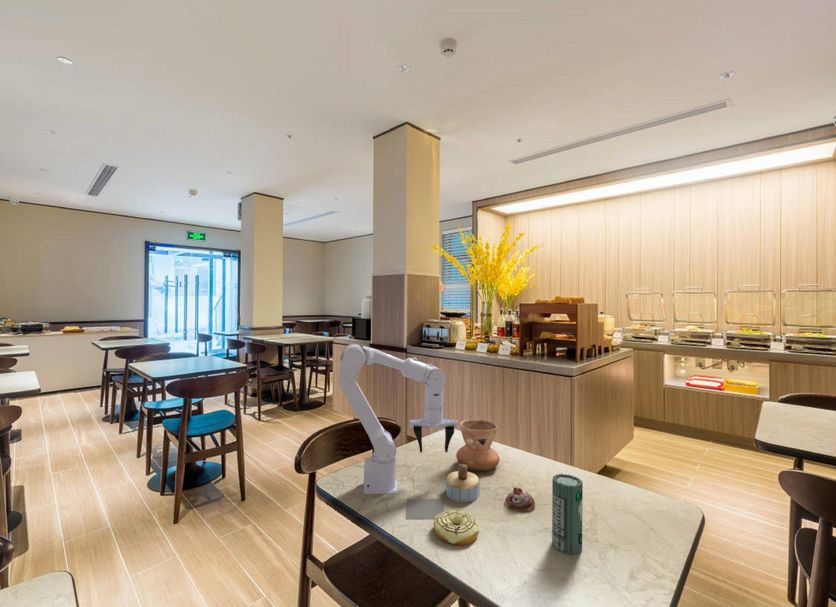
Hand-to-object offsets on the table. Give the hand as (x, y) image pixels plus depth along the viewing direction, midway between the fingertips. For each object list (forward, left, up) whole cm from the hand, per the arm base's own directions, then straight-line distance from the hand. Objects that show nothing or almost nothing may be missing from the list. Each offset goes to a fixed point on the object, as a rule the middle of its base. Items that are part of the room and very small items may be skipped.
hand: (433, 450), depth 117 cm
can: (+29, -30, -10) cm, 43 cm away
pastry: (+23, -12, -10) cm, 28 cm away
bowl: (+8, -7, -10) cm, 15 cm away
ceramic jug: (+16, +13, -10) cm, 23 cm away
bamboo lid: (+8, -7, -6) cm, 12 cm away
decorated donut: (+4, -26, -10) cm, 28 cm away
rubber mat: (-3, -15, -10) cm, 18 cm away
